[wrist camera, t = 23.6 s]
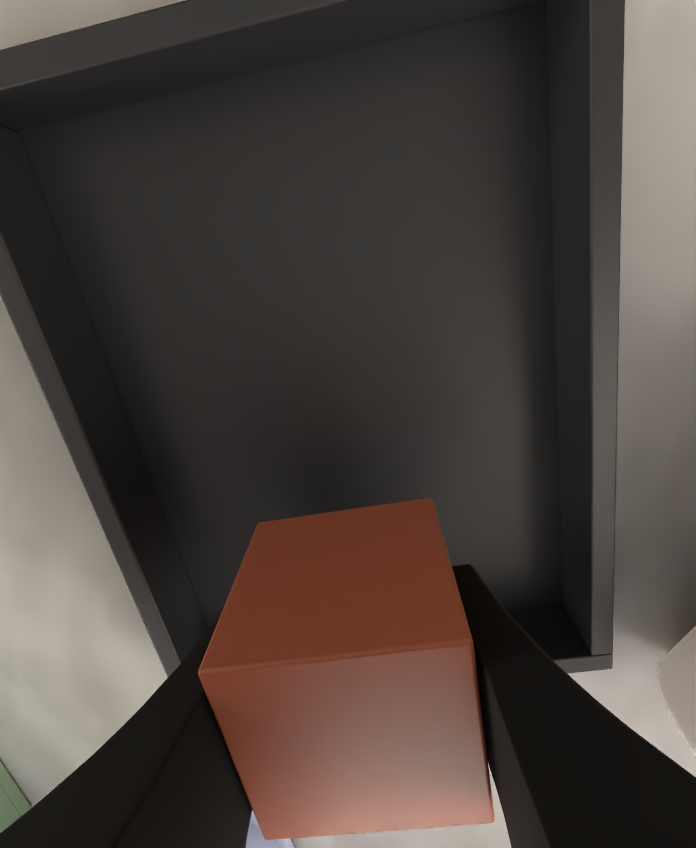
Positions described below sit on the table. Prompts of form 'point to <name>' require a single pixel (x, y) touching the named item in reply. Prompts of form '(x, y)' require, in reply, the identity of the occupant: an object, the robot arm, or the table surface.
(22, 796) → the bin
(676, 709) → the mug
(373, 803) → the terracotta block
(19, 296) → the pan
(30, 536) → the table surface
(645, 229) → the table surface
